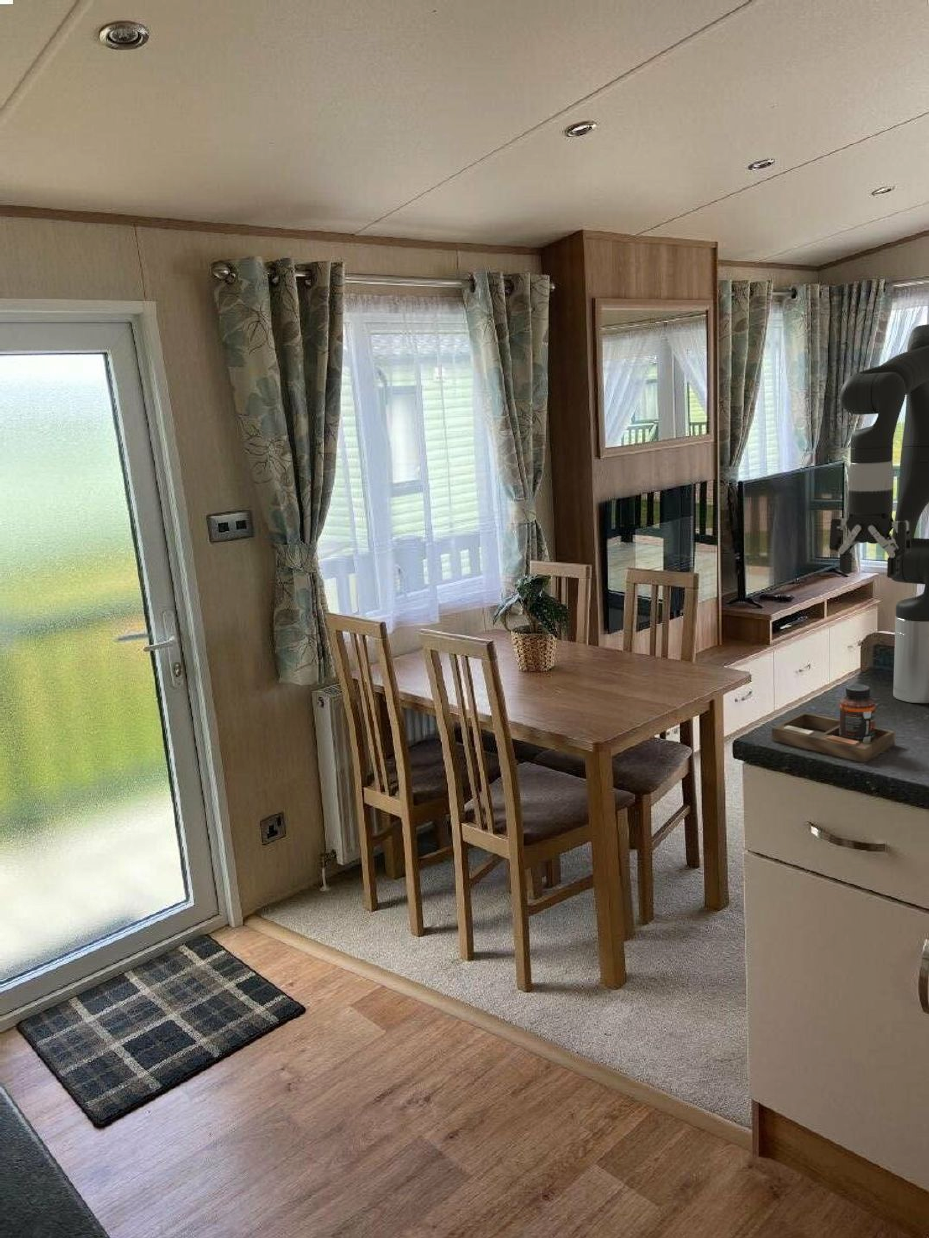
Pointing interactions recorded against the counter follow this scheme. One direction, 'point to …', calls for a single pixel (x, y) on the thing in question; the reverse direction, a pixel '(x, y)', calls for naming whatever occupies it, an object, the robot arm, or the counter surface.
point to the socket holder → (830, 738)
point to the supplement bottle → (857, 714)
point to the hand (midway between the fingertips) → (868, 575)
